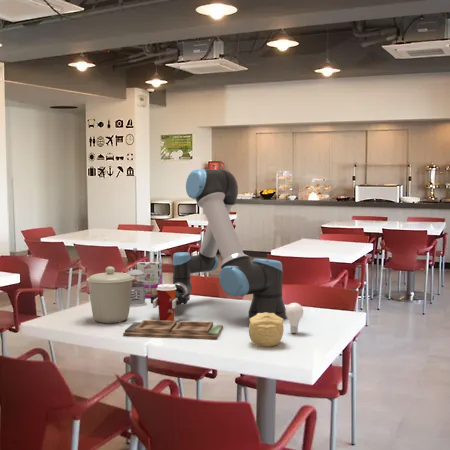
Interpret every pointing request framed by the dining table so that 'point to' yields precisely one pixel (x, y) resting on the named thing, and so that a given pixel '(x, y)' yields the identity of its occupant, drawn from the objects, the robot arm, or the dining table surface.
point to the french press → (137, 288)
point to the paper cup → (166, 301)
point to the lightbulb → (294, 316)
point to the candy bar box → (150, 276)
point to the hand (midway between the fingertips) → (163, 304)
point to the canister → (110, 295)
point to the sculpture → (266, 329)
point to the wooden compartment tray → (174, 329)
